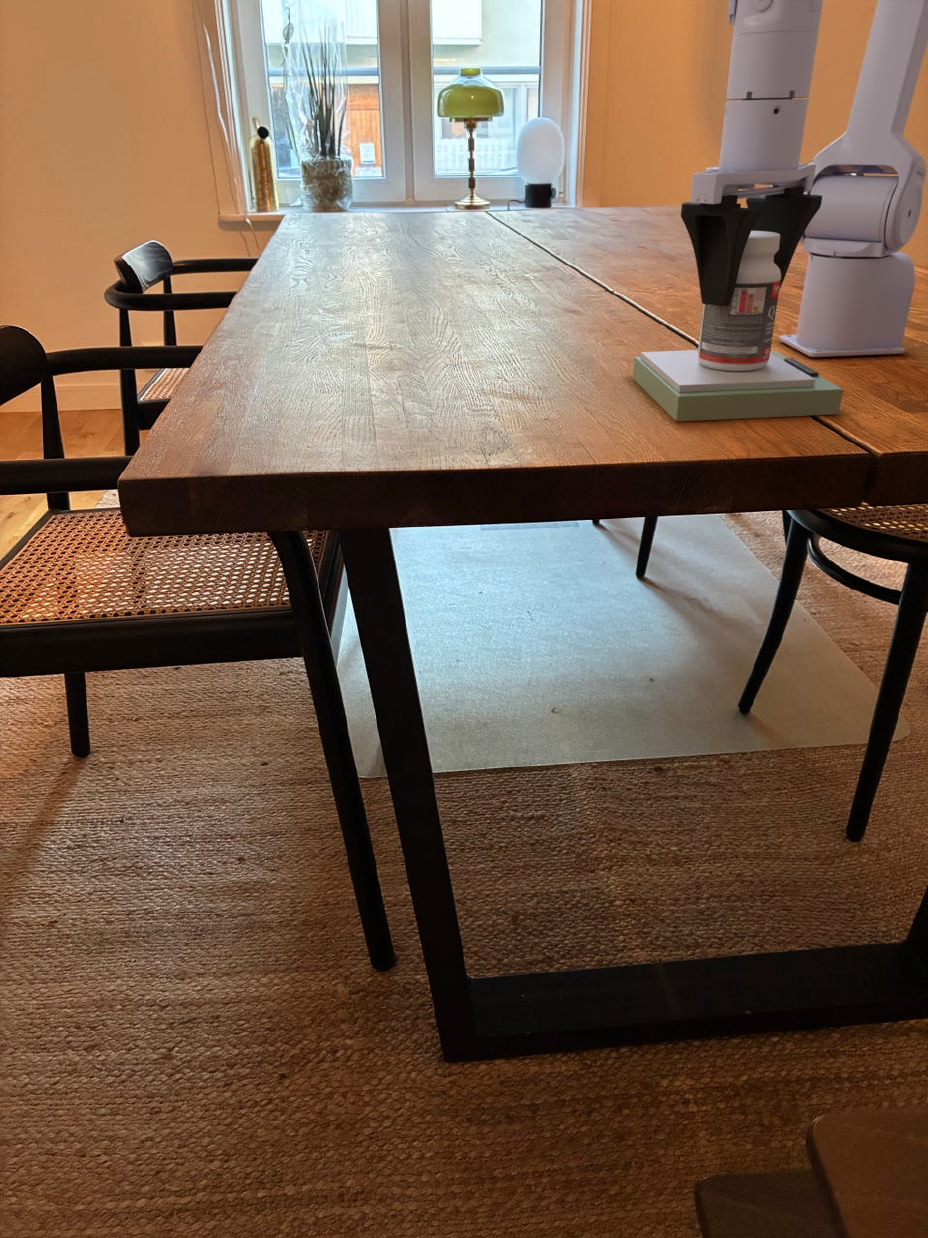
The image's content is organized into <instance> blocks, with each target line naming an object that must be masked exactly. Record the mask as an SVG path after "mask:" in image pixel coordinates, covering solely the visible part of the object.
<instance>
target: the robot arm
mask: <svg viewBox="0 0 928 1238" xmlns="http://www.w3.org/2000/svg"><path fill="white" fill-rule="evenodd" d="M823 5H824V0H728V4H727V14H726V15H727V16H728V24H729V25H730V26H732V27H733V33H732V42H731V50H730V52H731V53H730V60H729V70H728V79H727V86H726V87H727V88H726V96H725V100H726V101H725V107H724V116H723V125H722V133H721V143H720V145H721V146H720V153H719V162H718V166H714V167H713V166H712V167H706V168H705V170H704V171H701V172H700V171H699V172H694V173H692V178H691V188H690V189H691V190H690V200H689V201H685V202H682V203H681V208H680V218H681V220H682V222H683V224H684V226H685V228H686V231H687V233H688V237H689V239H690V243H691V245H692V249H693V252H694V257H695V263H696V269H697V276H698V284H699V285H698V286H699V290H700V291H699V293H700V299H701V300H700V301H701V304H702V305H703V304H708V305H716V306H729V304H730V302H731V299H732V297H733V294H734V290H735V286H736V281H737V276H738V272H739V267H740V262H741V258H742V255H743V252H744V248H745V246H746V243H747V240H748V238H749V235H750V233H751V231H767V232H774V233H778V234H780V243H779V250H778V251H777V252H776V254H774V263H775V264H776V265H777V266H778V267H779V269H780V272H781V281H780V288H779V291H780V290H781V287H782V285H783V283H784V281H785V279H786V275H787V273H788V270H789V268H790V265H791V263H792V259H793V256H794V254H795V252H796V249H797V247H798V245H799V243H800V244H802V245H803V247H802V253H803V252H804V253H808V258H807V264H806V270H805V276H804V283H803V289H802V295H801V301H800V306H799V307H800V308H799V313H798V320H797V326H796V333H795V334H786V335H785V334H784V335H779V339H778V340H779V341H780V342H782V343H784V344H786V345H788V346H789V347H791V348H793V349H795V350H797V351H799V352H801V353H802V354H804V355H806V356H808V357H811V358H826V357H827V358H828V357H830V358H831V357H851V356H852V357H853V356H874V355H900V354H901V355H902V354H905V351H906V348H905V347H904V346H902V344H903V341H904V340H903V339H904V335H905V332H906V327H907V322H908V317H909V313H910V308H911V304H912V299H913V295H914V290H915V286H916V285H915V283H916V271H915V270H916V269H915V265H914V261H913V260H912V257H910V256H909V255H908V254H907V253H905V252H899V251H900V250H901V249H903V247H904V246H906V245H907V244H908V243H909V242H910V241H911V239H912V237H913V235H914V233H915V231H916V229H917V226H918V223H919V220H920V216H921V211H922V206H923V199H924V197H923V196H924V195H923V194H924V193H923V192H924V188H925V187H924V186H925V183H926V177H927V173H928V171H927V170H928V169H927V165H926V160H925V158H924V157H923V155H922V154H921V153H920V152H919V151H918V150H917V149H916V148H915V147H914V146H913V145H912V144H911V143H910V142H909V141H908V140H907V139H906V138H905V136H904V134H905V129H906V125H907V121H908V118H909V114H910V111H911V107H912V102H913V99H914V95H915V92H916V87H917V85H918V84H917V83H918V81H919V76H920V72H921V68H922V66H923V65H922V64H923V61H924V57H925V54H926V49H927V46H928V0H877V3H876V8H875V12H874V16H873V19H872V24H871V28H870V31H869V35H868V39H867V45H866V49H865V53H864V56H863V61H862V63H861V69H860V73H859V78H858V81H857V85H856V89H855V93H854V98H853V102H852V105H851V109H850V110H851V111H850V114H849V118H848V121H847V126H846V129H845V132H844V133H843V134H842V135H840V136H839V137H838V138H837V139H835V140H834V141H833V142H831V143H830V144H828V145H827V146H826V147H824V148H823V149H822V150H820V151H819V152H817V153H816V154H815V155H814V156H813V159H812V163H800V160H801V152H802V146H803V139H804V132H805V126H806V119H807V114H808V113H807V112H808V106H809V100H810V99H809V98H810V93H811V87H812V79H813V72H814V66H815V59H816V54H817V53H816V52H817V45H818V38H819V32H820V26H821V20H822V19H821V17H822V11H823V7H824V6H823ZM756 185H763V186H764V185H765V186H766V187H758V188H756ZM744 199H745V203H746V207H742V203H739V202H738V200H744Z"/></svg>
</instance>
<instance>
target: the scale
mask: <svg viewBox="0 0 928 1238" xmlns="http://www.w3.org/2000/svg"><path fill="white" fill-rule="evenodd" d="M633 359H634V360H633V373H632V380H633V381H634V382H635V383H636V384H637V385H638V386H639V387H640V388H641V389H642V390H643V391H644V392H645V393H646V394H647V395H648V396H649V397H650V398H651V399H652V400H653V401H654V402H656V403H657V404H658V405H659V407H661V409H662V410H664V412H666V413H667V414H668V416H670V417H671V418H672V419H673V421H675V422H676V423H681V422H698V421H699V422H701V421H703V422H704V421H724V420H743V419H744V420H745V419H766V418H767V419H769V418H788V417H810V416H811V417H812V416H814V417H815V416H829V415H830V416H833V415H836V416H837V415H839V413H840V409H841V403H842V398H843V394H844V393H843V392H844V389H843V388H842V387H840V386H838V385H837V384H835V383H833V382H831V381H829V380H828V379H826V378H824V377H823V376H821V375H820V373H819V372H818V371H816V370H814V369H813V368H811V367H809V366H807V365H806V364H804V363H803V362H801V361H799V360H797V359H795V358H794V357H787V356H786V355H784V354H782V353H780V352H779V351H776V350H772V351H770V357H769V361H768V363H767V365H766V366H764V367H763V368H760V369H757V370H751V371H724V370H717V369H712V368H708V367H705V366H703V365H702V364H700V362H699V361H698V349H686V350H661V351H641V352H640V356H634V358H633Z"/></svg>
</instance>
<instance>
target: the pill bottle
mask: <svg viewBox="0 0 928 1238" xmlns="http://www.w3.org/2000/svg"><path fill="white" fill-rule="evenodd" d="M779 243H780V234H778V233H774V232H767V231H751V233H750V235H749V238H748V240H747V243H746V246H745V248H744V252H743V255H742V258H741V262H740V267H739V272H738V276H737V281H736V286H735V290H734V294H733V297H732V299H731V302H730V304H729V306H716V305H708V304H702V311H701V320H700V329H699V338H698V345H697V346H698V348H697V350H698V361H699V362H700V364H702V365H703V366H705V367H708V368H712V369H717V370H724V371H751V370H757V369H760V368H763V367H764V366H766V365H767V363H768V361H769V357H770V351H771V350H772V343H773V336H774V329H775V321H776V315H777V309H778V308H777V307H778V300H779V295H780V290H779V288H780V281H781V272H780V269H779V267H778V266H777V265H776V264H775V263H774V254H776V252H777V251H778V250H779ZM780 289H781V288H780Z"/></svg>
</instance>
